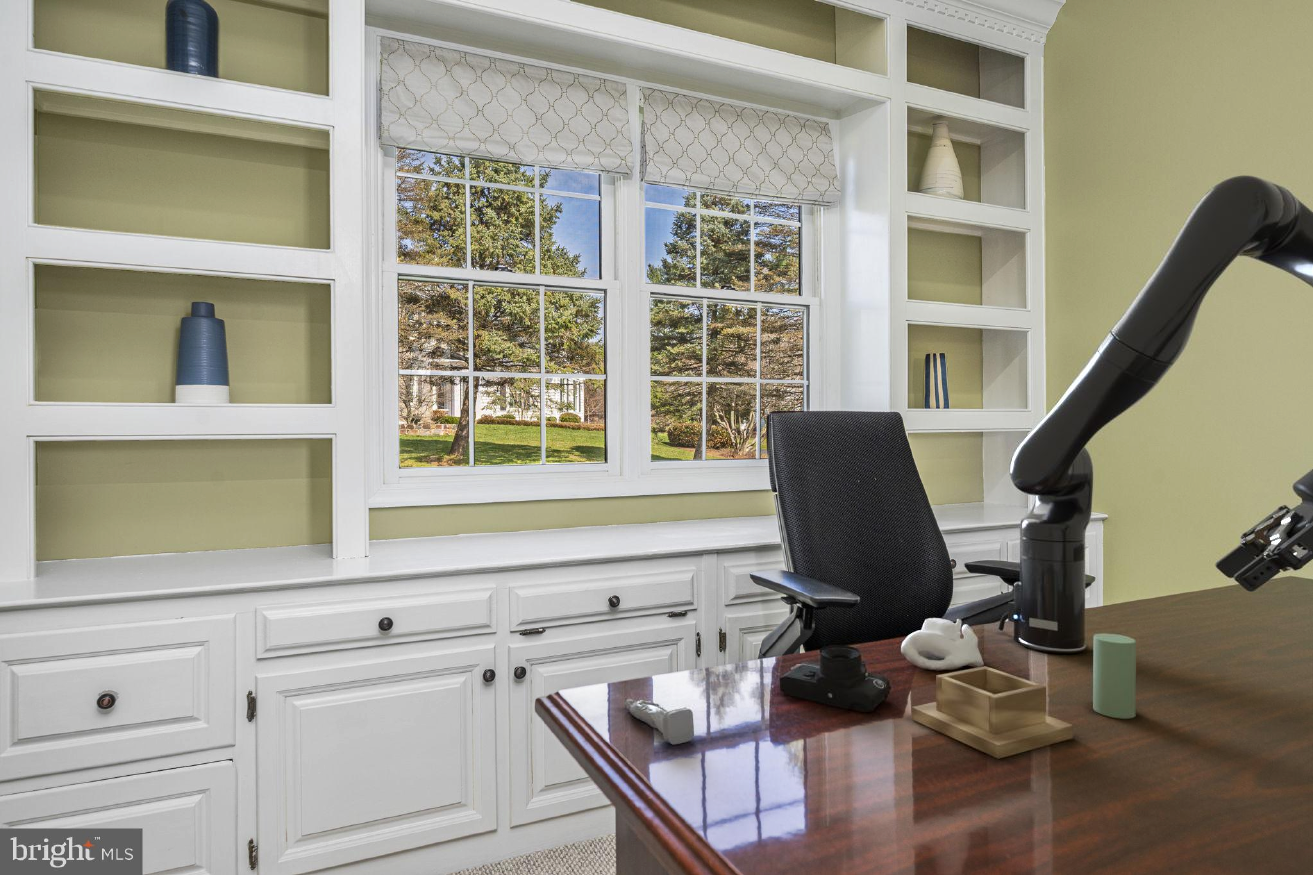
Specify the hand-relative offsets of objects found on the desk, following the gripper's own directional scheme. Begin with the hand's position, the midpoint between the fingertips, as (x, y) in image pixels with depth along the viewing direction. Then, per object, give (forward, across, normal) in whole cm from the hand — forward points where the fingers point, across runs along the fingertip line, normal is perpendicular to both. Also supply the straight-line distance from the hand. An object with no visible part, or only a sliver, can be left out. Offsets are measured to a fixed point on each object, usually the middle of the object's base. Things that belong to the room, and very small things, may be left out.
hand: (1231, 578), depth 86 cm
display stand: (+30, +12, -6) cm, 33 cm away
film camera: (+43, +10, -18) cm, 47 cm away
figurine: (+55, +28, -30) cm, 69 cm away
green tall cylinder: (+20, 0, +4) cm, 21 cm away
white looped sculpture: (+34, -10, -10) cm, 37 cm away
